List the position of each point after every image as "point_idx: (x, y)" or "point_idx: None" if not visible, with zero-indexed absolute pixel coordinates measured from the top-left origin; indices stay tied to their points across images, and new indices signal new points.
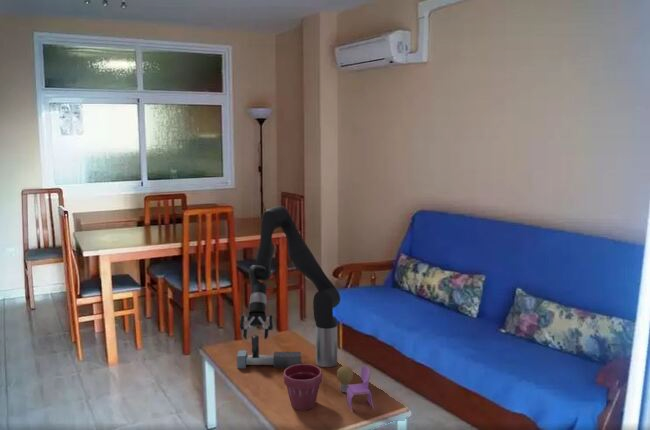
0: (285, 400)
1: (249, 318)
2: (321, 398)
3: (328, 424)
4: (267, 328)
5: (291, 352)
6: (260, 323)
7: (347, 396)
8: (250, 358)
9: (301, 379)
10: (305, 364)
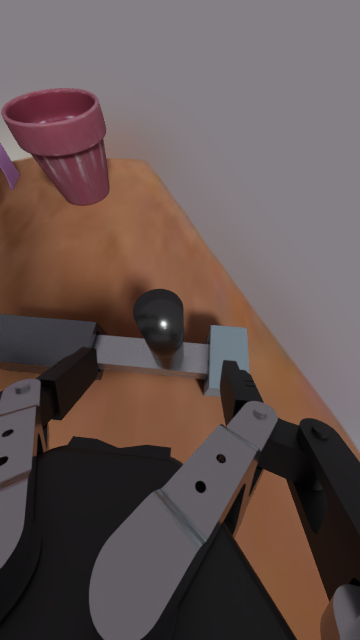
0: (116, 202)
1: (248, 625)
2: (48, 203)
3: None
4: (21, 382)
5: (9, 354)
6: (53, 450)
7: (3, 165)
8: (189, 343)
9: (62, 166)
10: (25, 123)
